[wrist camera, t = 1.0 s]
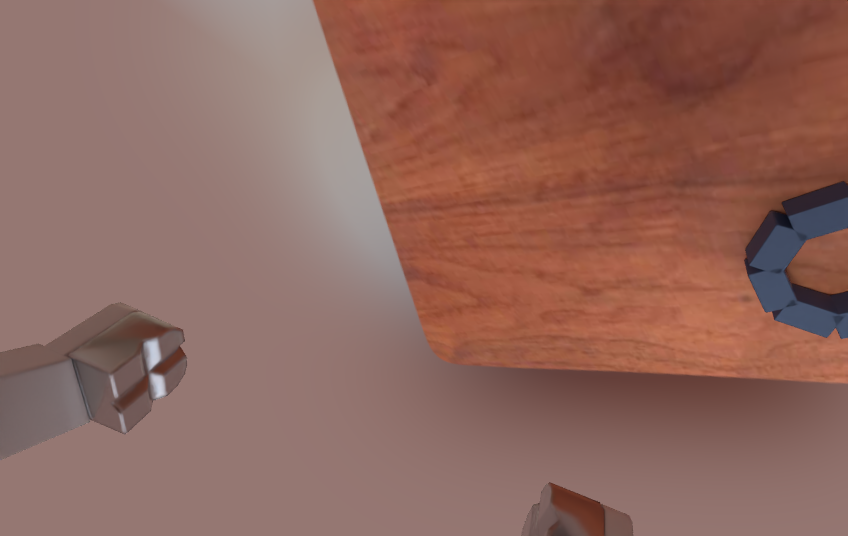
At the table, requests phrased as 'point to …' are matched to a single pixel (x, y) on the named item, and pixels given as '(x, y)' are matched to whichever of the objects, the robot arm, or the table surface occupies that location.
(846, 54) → the table surface
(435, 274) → the table surface
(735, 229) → the table surface
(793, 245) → the ring
